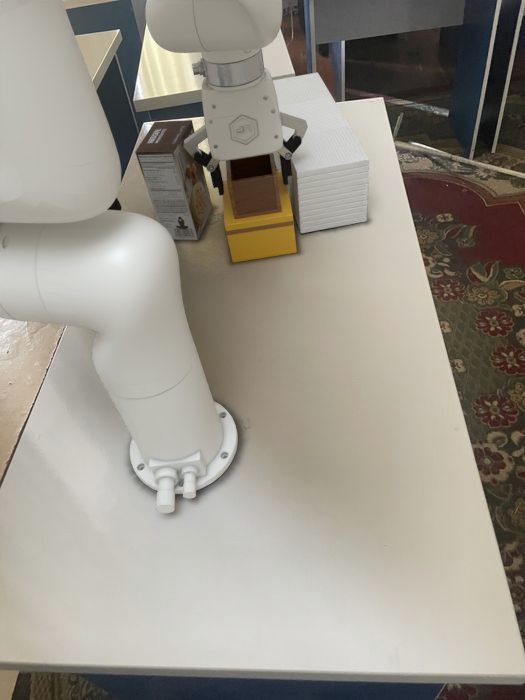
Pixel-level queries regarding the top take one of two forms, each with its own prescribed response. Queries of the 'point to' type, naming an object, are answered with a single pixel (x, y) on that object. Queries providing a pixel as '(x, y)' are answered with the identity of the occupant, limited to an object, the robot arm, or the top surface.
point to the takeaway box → (260, 229)
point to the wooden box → (253, 186)
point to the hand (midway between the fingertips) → (253, 185)
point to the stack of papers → (322, 158)
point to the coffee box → (174, 180)
